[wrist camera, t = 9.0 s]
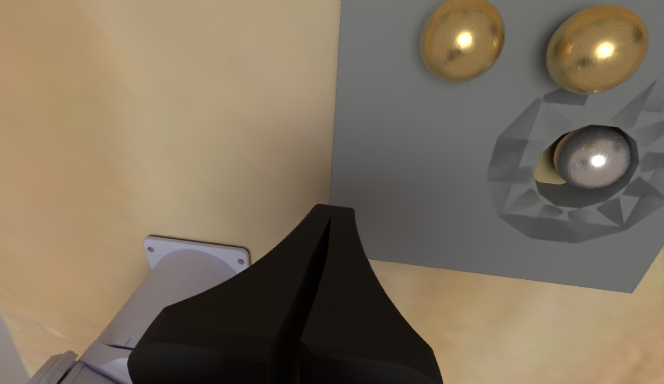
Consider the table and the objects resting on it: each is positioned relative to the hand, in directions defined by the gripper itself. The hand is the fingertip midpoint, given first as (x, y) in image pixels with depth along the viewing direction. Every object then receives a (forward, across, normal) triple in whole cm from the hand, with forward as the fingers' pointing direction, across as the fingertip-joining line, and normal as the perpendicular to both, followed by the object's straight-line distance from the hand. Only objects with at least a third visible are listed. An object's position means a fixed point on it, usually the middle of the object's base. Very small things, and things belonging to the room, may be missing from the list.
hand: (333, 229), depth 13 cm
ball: (+8, -12, 0) cm, 15 cm away
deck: (+10, -8, 0) cm, 13 cm away
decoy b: (+6, -9, -6) cm, 12 cm away
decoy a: (+6, -4, -6) cm, 9 cm away
